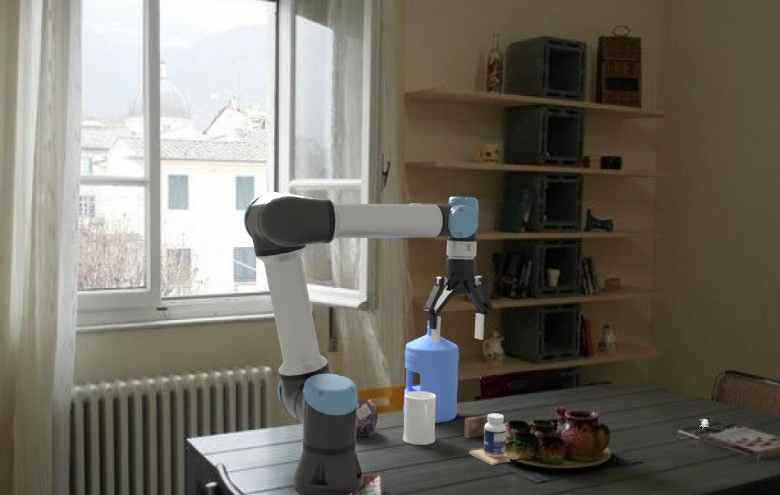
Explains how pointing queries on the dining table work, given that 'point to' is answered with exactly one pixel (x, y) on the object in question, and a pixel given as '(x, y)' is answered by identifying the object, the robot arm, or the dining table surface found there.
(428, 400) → the mug
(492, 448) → the pill bottle
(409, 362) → the water jug
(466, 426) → the blocks
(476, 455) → the cork pad
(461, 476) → the dining table surface
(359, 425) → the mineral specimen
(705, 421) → the power adapter
